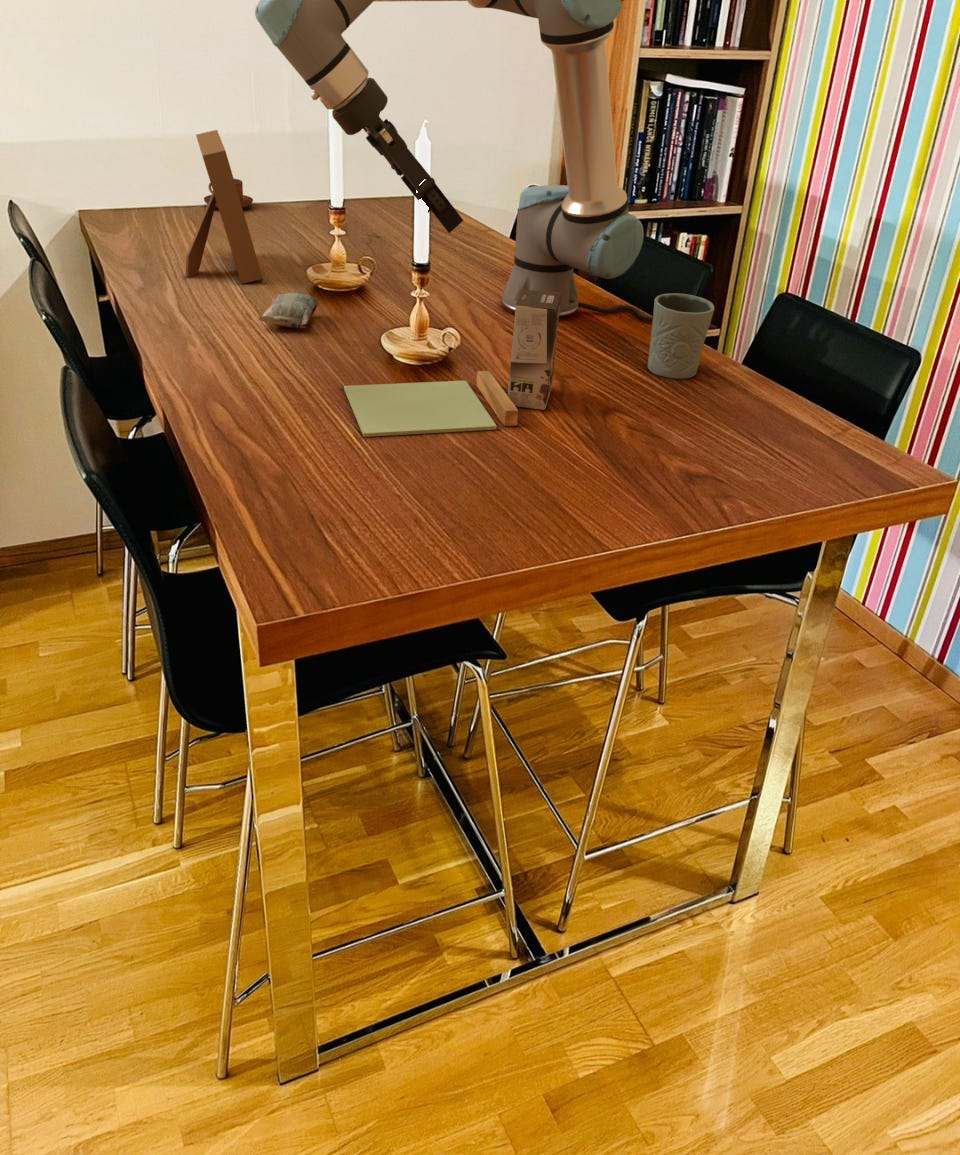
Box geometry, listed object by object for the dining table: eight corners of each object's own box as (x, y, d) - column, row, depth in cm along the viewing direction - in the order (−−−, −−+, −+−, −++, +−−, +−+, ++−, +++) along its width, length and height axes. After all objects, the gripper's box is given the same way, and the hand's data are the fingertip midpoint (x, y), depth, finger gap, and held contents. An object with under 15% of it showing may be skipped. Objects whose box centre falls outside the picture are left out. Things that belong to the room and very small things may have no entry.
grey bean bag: (259, 331, 178) (258, 304, 176) (273, 310, 188) (272, 284, 186) (308, 336, 178) (308, 308, 176) (319, 314, 188) (319, 288, 186)
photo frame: (252, 253, 219) (245, 130, 206) (263, 283, 202) (256, 150, 189) (182, 254, 215) (170, 128, 202) (186, 285, 198) (174, 149, 185)
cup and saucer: (196, 209, 249) (194, 183, 246) (215, 199, 259) (213, 174, 256) (243, 214, 248) (241, 188, 244) (260, 204, 258) (258, 179, 254)
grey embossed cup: (666, 355, 181) (678, 289, 175) (713, 372, 176) (727, 305, 169) (632, 367, 175) (642, 299, 169) (679, 385, 169) (691, 316, 163)
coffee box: (546, 411, 157) (557, 309, 148) (505, 406, 157) (513, 304, 149) (552, 389, 164) (563, 291, 156) (513, 384, 165) (522, 287, 156)
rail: (488, 385, 164) (489, 370, 163) (517, 425, 151) (518, 410, 150) (476, 385, 164) (477, 371, 162) (504, 426, 151) (505, 410, 149)
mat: (465, 383, 164) (466, 380, 164) (496, 429, 150) (496, 425, 149) (343, 389, 159) (343, 385, 158) (363, 437, 144) (363, 433, 144)
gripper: (318, 102, 148) (408, 215, 160) (343, 126, 128) (445, 253, 139) (355, 66, 147) (444, 183, 159) (387, 84, 127) (486, 217, 138)
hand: (444, 216), depth 149 cm, fingers open, 13 cm apart
